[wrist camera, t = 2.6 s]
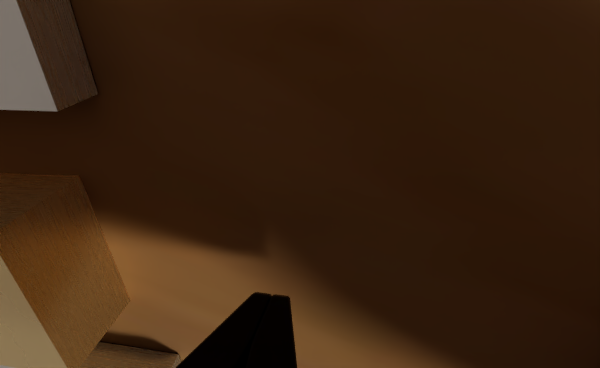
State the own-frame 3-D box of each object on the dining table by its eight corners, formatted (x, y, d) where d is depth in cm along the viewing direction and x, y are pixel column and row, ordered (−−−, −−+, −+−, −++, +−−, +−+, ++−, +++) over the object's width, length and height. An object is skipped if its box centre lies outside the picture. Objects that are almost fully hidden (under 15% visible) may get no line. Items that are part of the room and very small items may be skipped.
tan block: (85, 171, 10) (-11, 236, 7) (134, 295, 12) (72, 376, 10) (-50, 167, 11) (-175, 224, 8) (18, 283, 13) (-65, 354, 10)
